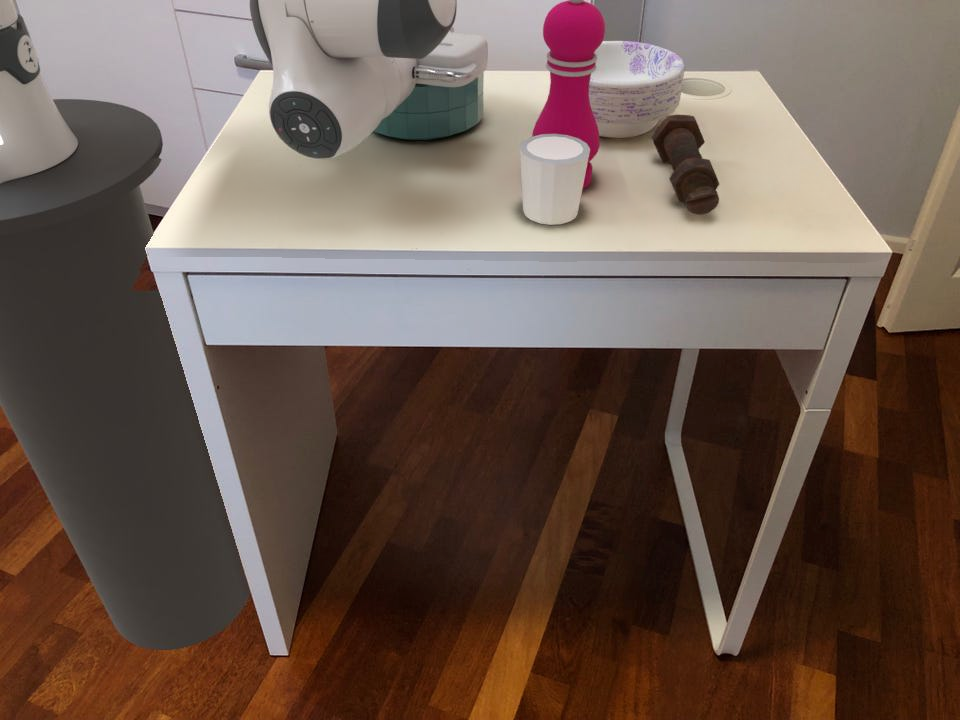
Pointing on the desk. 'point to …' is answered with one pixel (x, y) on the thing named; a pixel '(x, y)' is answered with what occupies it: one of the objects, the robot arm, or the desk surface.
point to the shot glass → (552, 177)
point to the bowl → (435, 112)
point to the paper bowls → (633, 87)
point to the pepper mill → (572, 73)
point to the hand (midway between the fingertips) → (420, 30)
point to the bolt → (687, 163)
